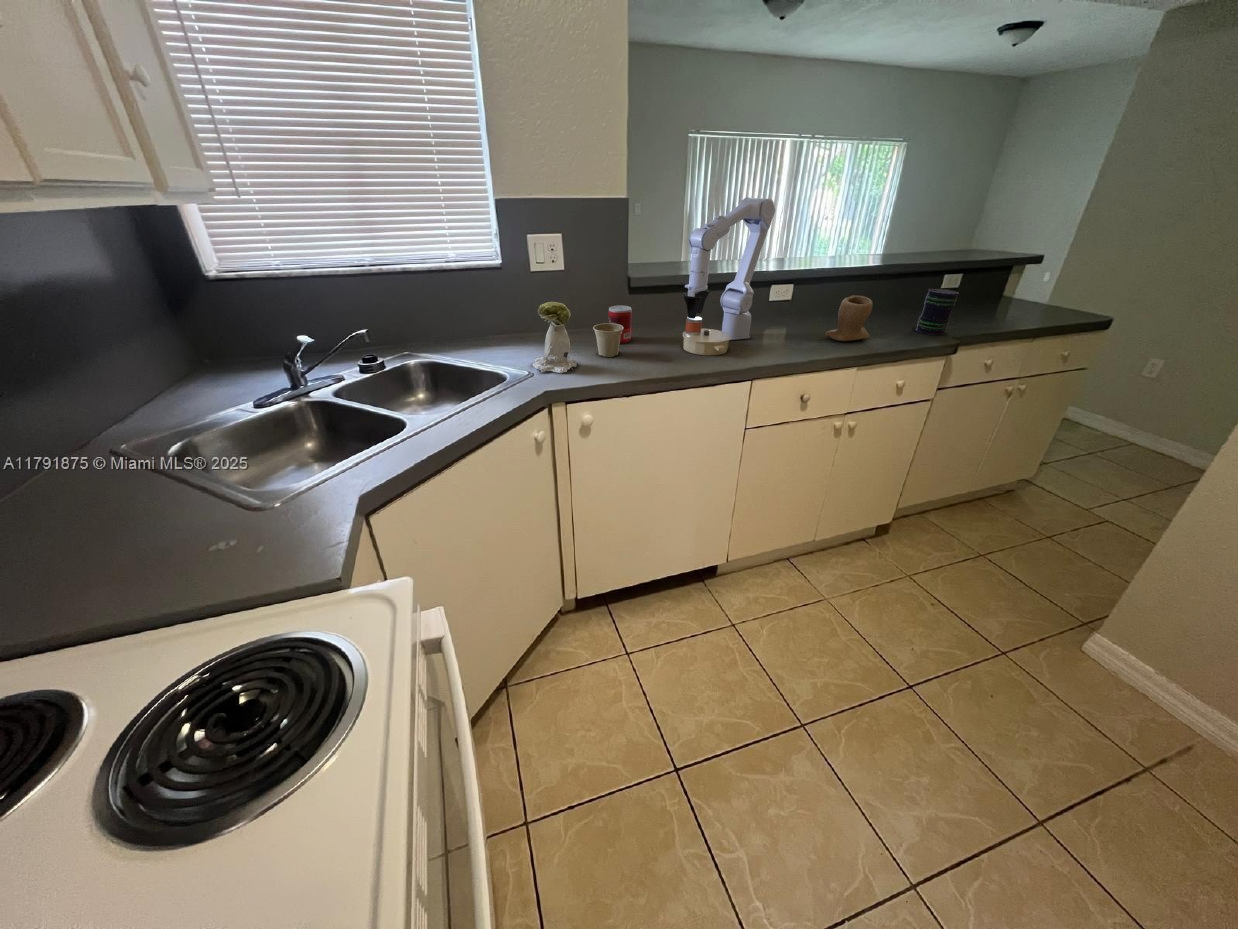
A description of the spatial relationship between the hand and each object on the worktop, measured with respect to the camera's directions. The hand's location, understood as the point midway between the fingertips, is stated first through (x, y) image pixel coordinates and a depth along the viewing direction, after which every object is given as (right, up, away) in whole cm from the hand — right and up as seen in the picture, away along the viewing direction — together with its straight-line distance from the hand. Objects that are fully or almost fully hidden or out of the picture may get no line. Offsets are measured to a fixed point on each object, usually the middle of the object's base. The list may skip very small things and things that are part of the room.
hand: (694, 315), depth 158 cm
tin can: (0, -5, +3) cm, 6 cm away
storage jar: (+94, +2, +28) cm, 98 cm away
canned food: (-25, -6, +10) cm, 27 cm away
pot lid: (+4, -6, +2) cm, 8 cm away
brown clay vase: (+58, -4, +16) cm, 60 cm away
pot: (+4, -10, +4) cm, 11 cm away
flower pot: (-28, -14, -4) cm, 32 cm away
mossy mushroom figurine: (-44, -20, -15) cm, 50 cm away
